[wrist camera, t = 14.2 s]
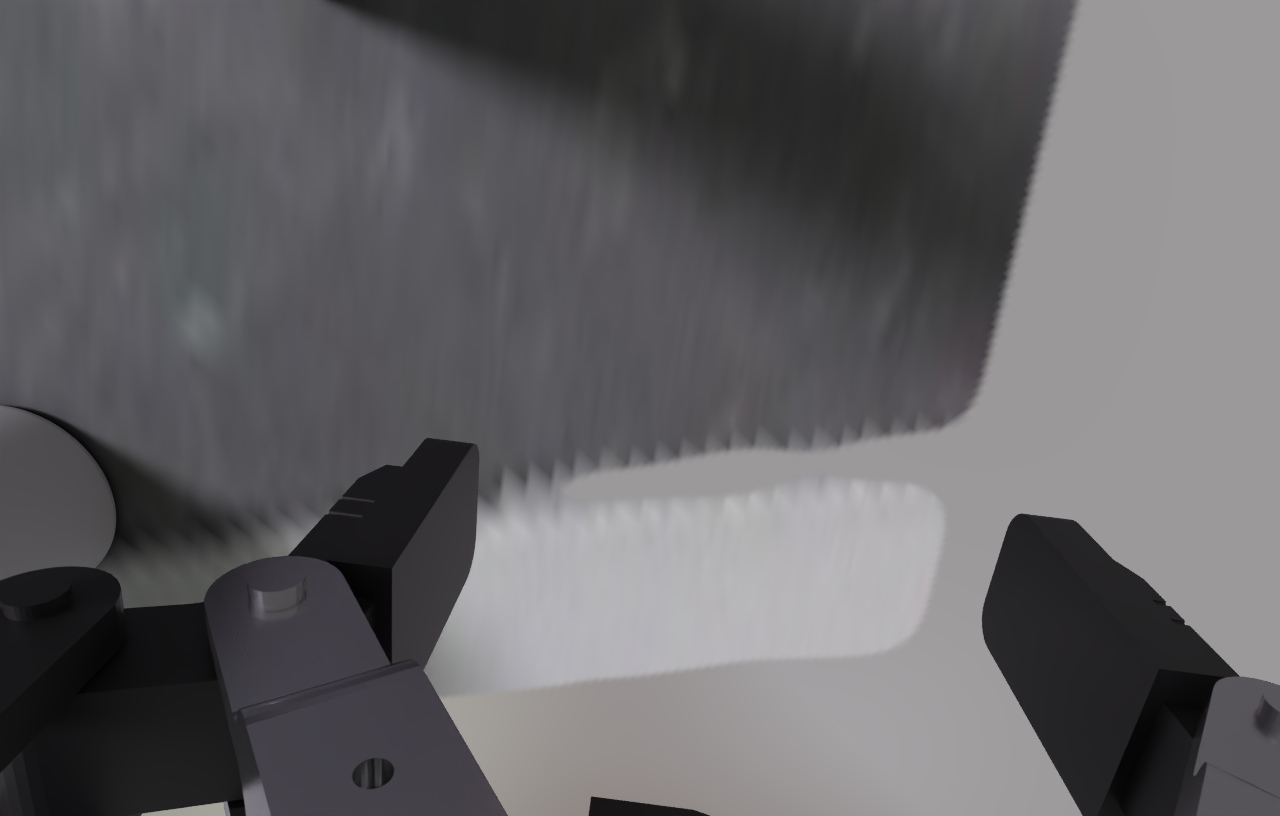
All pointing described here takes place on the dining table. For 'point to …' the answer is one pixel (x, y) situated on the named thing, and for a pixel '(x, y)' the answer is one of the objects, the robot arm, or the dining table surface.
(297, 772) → the robot arm
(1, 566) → the cylinder vase
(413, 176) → the dining table surface
